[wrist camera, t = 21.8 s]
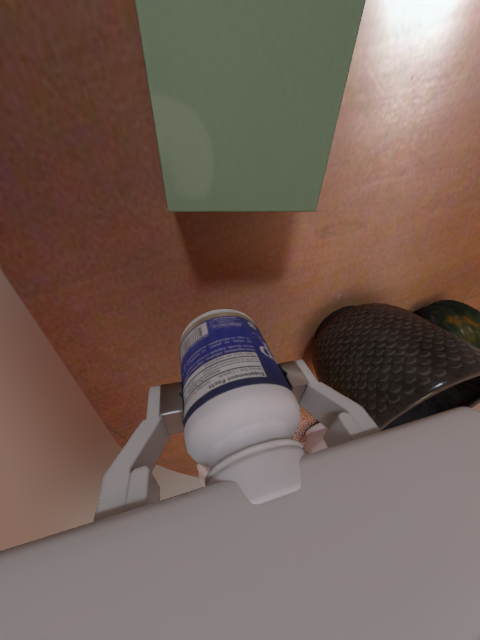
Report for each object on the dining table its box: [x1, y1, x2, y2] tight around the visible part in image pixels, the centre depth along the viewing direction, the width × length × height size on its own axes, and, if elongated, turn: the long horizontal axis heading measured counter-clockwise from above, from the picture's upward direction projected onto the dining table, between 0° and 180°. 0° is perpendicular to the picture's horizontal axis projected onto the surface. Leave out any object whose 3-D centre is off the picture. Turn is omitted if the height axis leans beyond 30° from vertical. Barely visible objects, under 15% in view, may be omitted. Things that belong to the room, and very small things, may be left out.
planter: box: [312, 303, 480, 431], centre depth 34 cm, size 20×20×19 cm
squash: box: [417, 300, 480, 349], centre depth 42 cm, size 14×15×15 cm
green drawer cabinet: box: [135, 0, 365, 212], centre depth 15 cm, size 14×13×8 cm
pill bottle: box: [180, 309, 308, 504], centre depth 10 cm, size 5×5×9 cm
